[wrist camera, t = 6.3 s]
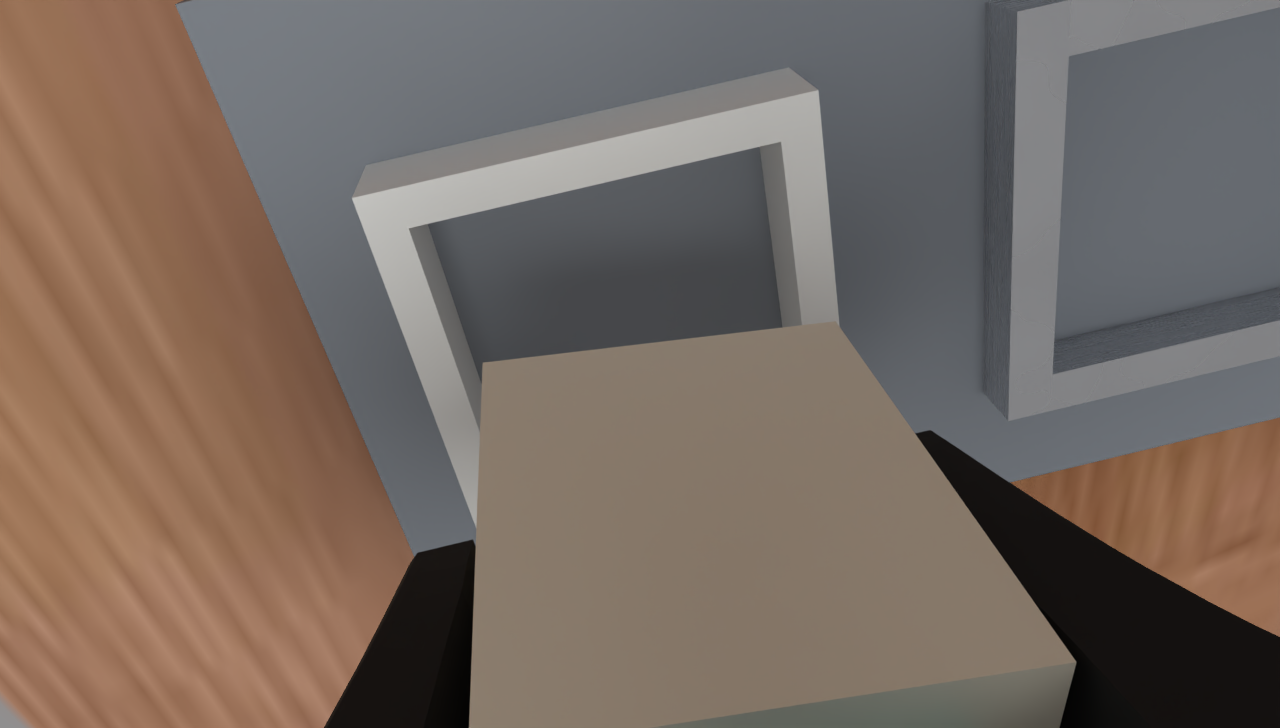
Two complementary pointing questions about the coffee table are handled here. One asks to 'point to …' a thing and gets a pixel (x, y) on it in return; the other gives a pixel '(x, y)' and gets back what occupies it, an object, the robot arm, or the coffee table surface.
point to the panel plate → (755, 200)
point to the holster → (1031, 210)
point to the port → (576, 158)
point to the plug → (736, 551)
